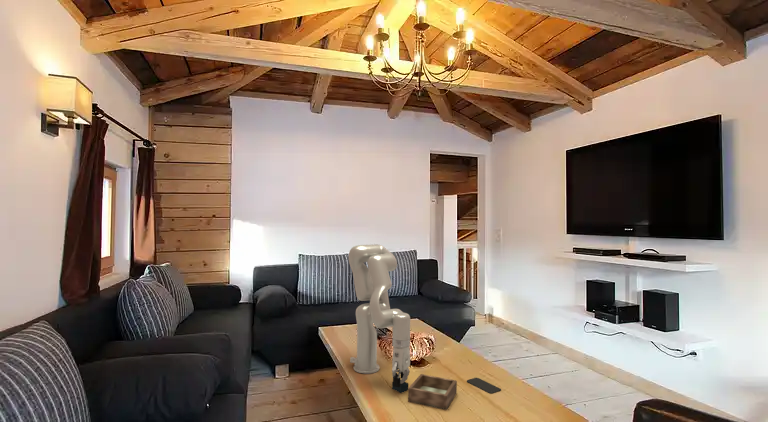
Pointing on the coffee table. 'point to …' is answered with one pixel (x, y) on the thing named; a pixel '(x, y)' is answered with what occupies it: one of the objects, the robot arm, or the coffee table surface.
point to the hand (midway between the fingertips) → (400, 382)
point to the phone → (483, 385)
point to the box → (432, 391)
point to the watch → (402, 382)
